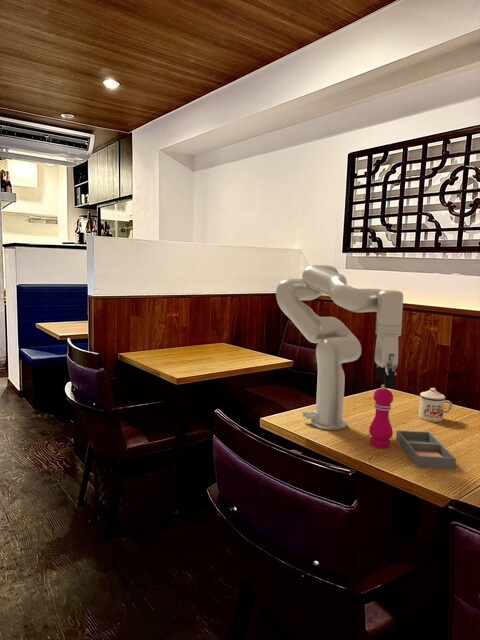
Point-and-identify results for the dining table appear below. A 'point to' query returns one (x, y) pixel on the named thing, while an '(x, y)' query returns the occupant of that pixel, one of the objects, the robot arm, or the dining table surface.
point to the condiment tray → (425, 450)
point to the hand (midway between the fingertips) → (385, 383)
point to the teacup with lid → (432, 405)
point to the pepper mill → (381, 419)
